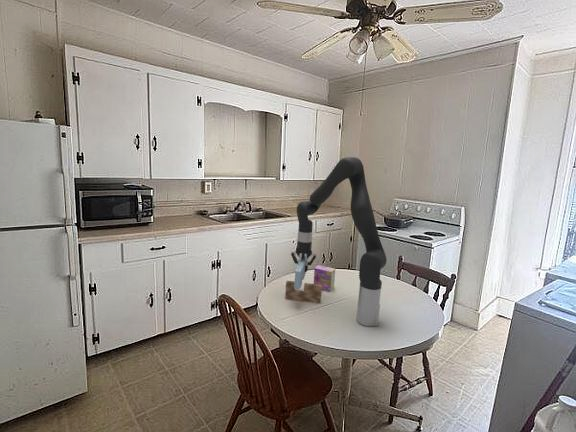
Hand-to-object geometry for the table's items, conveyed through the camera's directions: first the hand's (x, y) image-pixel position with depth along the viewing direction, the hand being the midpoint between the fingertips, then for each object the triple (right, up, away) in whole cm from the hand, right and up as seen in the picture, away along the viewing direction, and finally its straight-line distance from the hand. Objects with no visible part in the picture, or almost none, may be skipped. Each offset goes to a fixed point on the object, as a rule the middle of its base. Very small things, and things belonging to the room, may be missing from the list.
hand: (302, 271), depth 163 cm
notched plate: (-2, -4, -6) cm, 7 cm away
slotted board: (0, -14, -5) cm, 14 cm away
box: (+12, -12, +11) cm, 20 cm away
